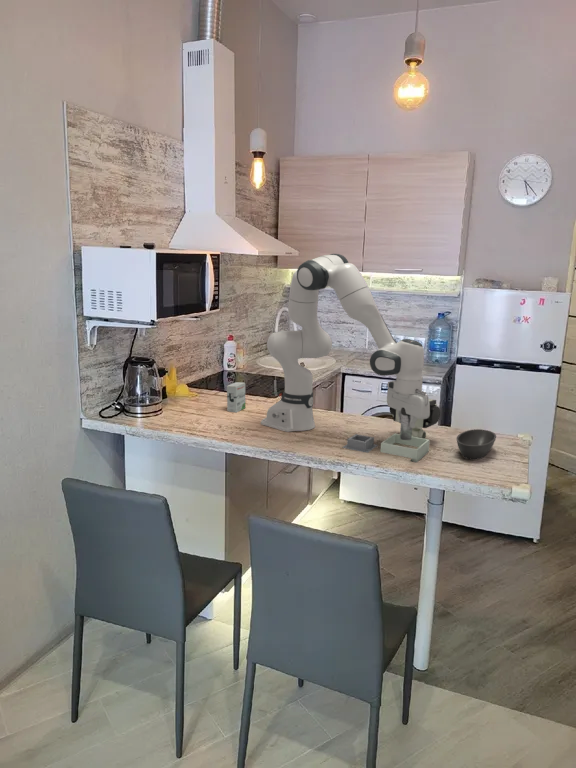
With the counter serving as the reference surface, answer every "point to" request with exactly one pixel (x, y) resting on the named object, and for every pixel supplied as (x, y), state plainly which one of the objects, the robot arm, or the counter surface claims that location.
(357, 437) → the socket block
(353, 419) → the counter surface
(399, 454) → the bin
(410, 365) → the robot arm
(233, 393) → the ink box
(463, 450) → the bowl
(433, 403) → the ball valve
